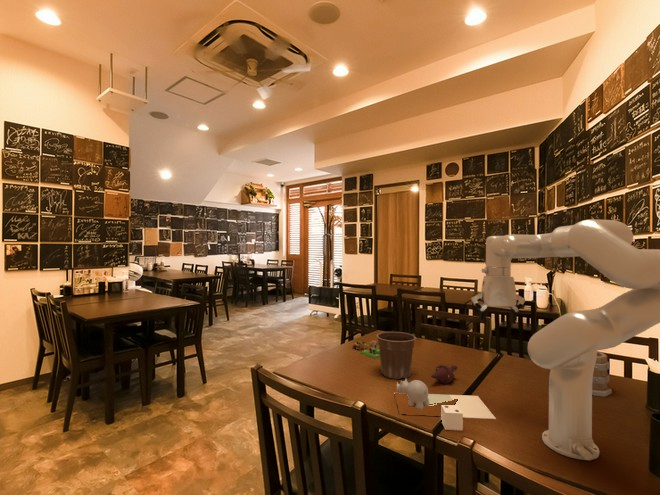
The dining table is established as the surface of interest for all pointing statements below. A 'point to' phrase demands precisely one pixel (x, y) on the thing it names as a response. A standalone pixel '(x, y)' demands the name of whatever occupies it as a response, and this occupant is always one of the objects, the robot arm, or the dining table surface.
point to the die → (451, 417)
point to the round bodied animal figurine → (414, 393)
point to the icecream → (444, 373)
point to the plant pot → (396, 354)
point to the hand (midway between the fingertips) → (497, 322)
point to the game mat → (464, 405)
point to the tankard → (601, 376)
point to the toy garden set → (373, 352)
